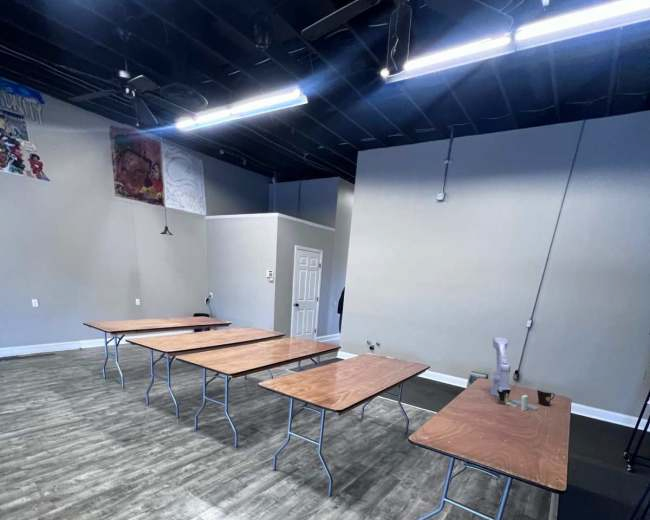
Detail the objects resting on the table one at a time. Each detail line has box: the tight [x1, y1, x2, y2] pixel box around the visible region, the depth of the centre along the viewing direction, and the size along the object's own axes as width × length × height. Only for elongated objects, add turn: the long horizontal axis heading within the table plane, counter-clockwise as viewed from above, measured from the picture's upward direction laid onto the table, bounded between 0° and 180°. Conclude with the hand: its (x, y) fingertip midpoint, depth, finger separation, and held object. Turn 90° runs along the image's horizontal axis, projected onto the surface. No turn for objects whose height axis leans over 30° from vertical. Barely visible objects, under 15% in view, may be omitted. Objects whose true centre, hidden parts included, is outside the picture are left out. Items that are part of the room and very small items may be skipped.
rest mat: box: [509, 398, 540, 411], centre depth 214 cm, size 16×8×1 cm, turn 39°
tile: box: [520, 394, 529, 412], centre depth 205 cm, size 2×7×9 cm, turn 129°
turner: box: [499, 393, 519, 408], centre depth 213 cm, size 10×6×7 cm, turn 39°
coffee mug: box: [536, 388, 556, 407], centre depth 217 cm, size 12×9×10 cm
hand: (503, 400), depth 215 cm, fingers open, 6 cm apart
